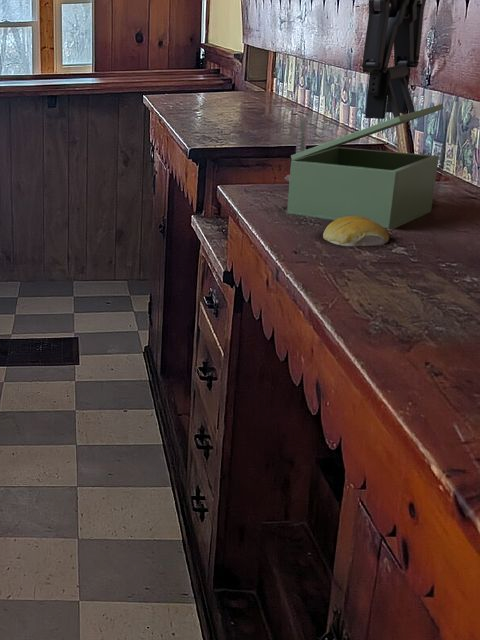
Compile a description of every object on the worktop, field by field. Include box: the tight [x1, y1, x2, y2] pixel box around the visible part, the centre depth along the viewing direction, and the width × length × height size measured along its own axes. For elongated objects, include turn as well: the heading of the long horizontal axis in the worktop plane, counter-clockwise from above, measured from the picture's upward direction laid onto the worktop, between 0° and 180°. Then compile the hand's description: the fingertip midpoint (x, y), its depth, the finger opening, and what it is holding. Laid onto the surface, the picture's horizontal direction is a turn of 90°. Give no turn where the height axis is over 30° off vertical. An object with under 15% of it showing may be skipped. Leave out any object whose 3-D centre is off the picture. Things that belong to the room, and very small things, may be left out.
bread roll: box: [322, 216, 390, 247], centre depth 123 cm, size 8×9×4 cm
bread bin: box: [286, 146, 440, 230], centre depth 137 cm, size 17×15×9 cm
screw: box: [284, 116, 308, 183], centre depth 155 cm, size 13×5×5 cm
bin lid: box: [290, 65, 445, 161], centre depth 134 cm, size 18×15×8 cm
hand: (385, 115), depth 131 cm, fingers closed on bin lid, 6 cm apart
